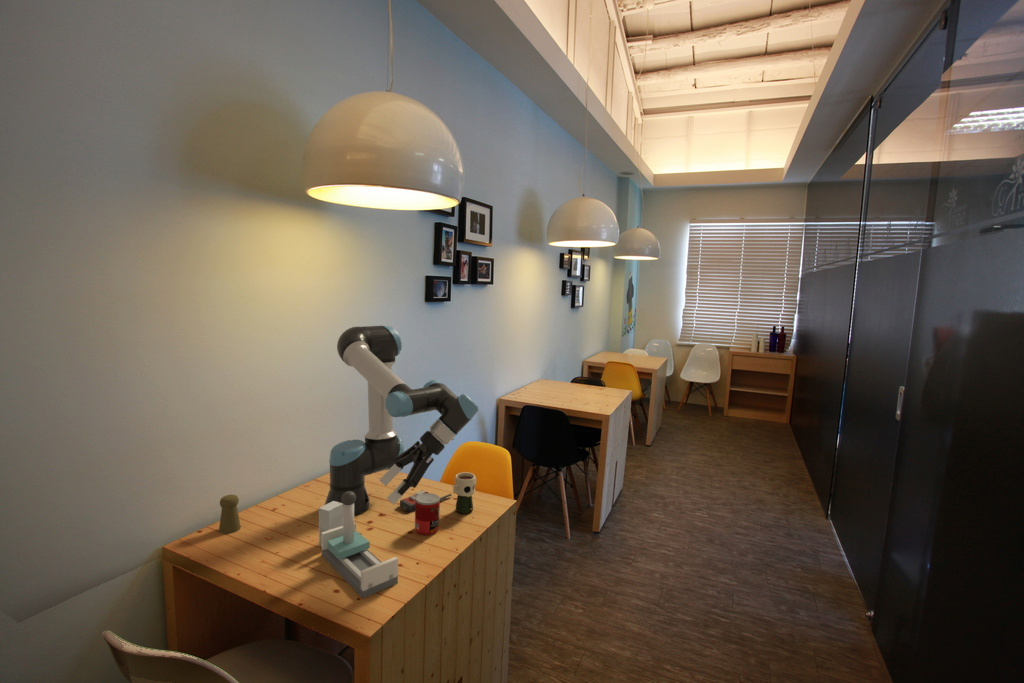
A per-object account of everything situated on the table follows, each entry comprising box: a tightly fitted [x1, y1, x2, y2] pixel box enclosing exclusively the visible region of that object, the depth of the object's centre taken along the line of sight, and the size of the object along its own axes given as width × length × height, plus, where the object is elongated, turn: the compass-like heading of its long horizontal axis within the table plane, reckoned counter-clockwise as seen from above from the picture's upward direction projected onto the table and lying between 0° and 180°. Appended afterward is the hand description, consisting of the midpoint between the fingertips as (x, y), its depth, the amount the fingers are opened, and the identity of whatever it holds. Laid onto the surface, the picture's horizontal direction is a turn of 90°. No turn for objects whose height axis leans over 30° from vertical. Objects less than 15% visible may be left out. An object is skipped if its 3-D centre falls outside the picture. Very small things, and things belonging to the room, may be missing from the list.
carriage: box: [327, 491, 371, 560], centre depth 137 cm, size 8×9×17 cm
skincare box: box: [318, 501, 343, 547], centre depth 146 cm, size 6×4×12 cm
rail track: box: [321, 521, 399, 599], centre depth 133 cm, size 26×10×7 cm, turn 44°
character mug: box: [452, 471, 477, 514], centre depth 171 cm, size 11×7×13 cm, turn 139°
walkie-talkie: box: [399, 490, 452, 513], centre depth 176 cm, size 9×4×20 cm
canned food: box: [414, 492, 441, 536], centre depth 156 cm, size 8×8×11 cm
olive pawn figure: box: [218, 494, 242, 535], centre depth 151 cm, size 6×6×11 cm
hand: (386, 491), depth 140 cm, fingers open, 13 cm apart
